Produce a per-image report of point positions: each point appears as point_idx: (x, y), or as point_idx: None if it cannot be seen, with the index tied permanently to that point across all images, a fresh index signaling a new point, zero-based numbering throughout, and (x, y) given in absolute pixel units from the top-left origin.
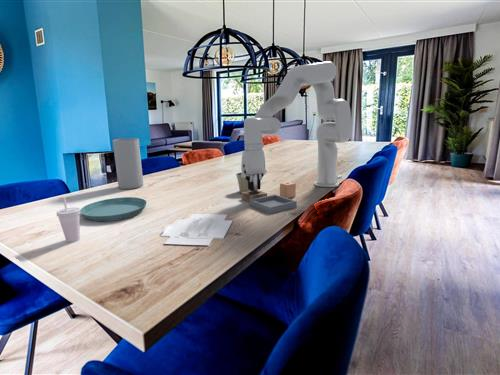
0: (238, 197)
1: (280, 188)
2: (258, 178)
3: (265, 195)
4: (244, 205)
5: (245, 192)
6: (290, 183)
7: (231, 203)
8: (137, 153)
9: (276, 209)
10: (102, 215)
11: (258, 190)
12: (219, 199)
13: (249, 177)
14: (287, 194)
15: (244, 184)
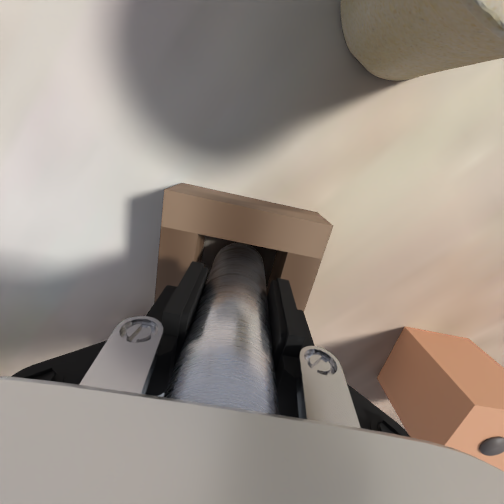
0: (194, 122)
1: (436, 372)
2: (280, 413)
3: None
4: (101, 299)
5: (190, 218)
6: (496, 458)
7: (54, 206)
8: None
9: None
10: None
11: (317, 261)
12: (19, 18)
13: (150, 376)
14: (390, 398)
15: (377, 4)
